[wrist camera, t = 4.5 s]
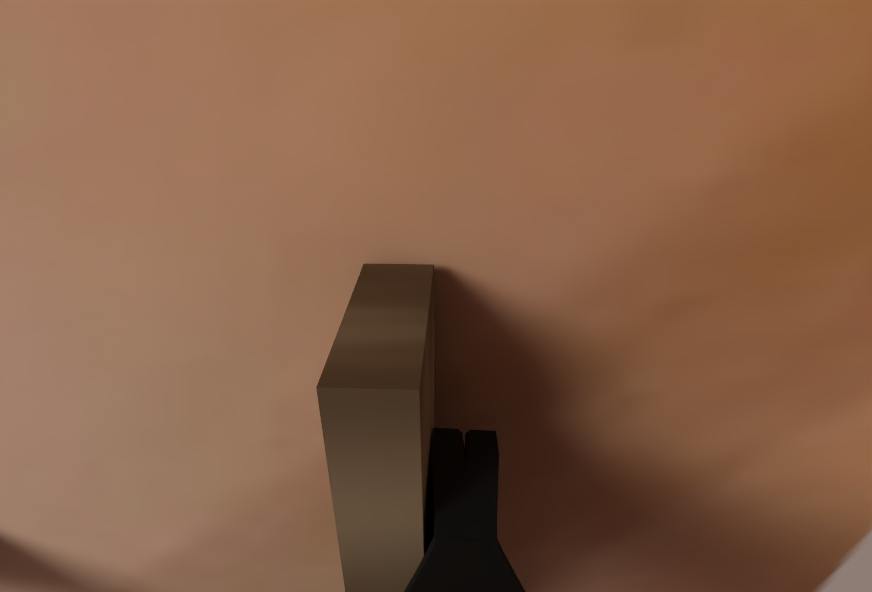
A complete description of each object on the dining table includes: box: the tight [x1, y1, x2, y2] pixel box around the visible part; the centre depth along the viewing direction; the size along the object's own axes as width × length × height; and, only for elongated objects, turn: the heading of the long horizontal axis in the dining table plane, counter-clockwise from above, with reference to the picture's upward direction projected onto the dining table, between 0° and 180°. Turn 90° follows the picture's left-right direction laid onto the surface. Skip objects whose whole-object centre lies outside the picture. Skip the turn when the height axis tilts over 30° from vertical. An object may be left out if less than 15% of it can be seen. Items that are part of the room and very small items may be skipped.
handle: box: [316, 264, 435, 592], centre depth 13 cm, size 13×2×5 cm, turn 0°
